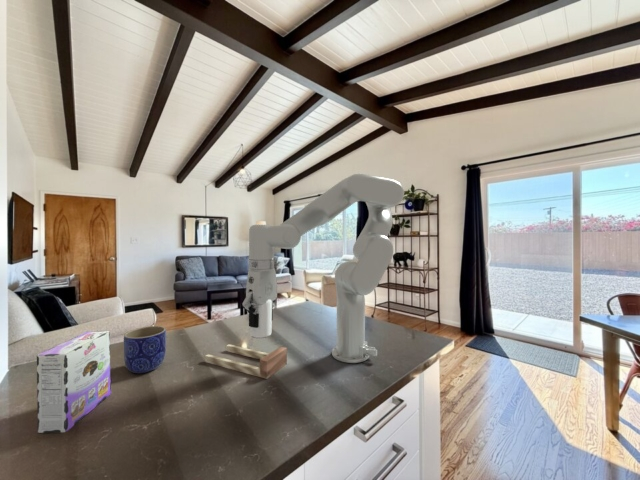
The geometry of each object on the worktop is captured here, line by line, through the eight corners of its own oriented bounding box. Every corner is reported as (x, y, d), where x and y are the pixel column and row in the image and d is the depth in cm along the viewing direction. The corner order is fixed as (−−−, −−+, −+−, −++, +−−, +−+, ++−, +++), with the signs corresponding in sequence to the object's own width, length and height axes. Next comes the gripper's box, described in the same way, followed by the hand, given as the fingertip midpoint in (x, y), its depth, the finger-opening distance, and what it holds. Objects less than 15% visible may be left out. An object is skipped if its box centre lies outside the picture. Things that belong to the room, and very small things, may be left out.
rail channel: (286, 363, 88) (286, 347, 88) (266, 378, 79) (266, 361, 78) (228, 349, 98) (228, 335, 98) (205, 361, 89) (205, 346, 89)
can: (269, 339, 82) (269, 298, 82) (247, 338, 82) (247, 298, 82) (273, 331, 89) (273, 293, 88) (253, 331, 89) (253, 293, 89)
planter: (174, 362, 89) (174, 327, 88) (144, 379, 78) (143, 340, 78) (147, 358, 92) (146, 324, 91) (114, 374, 81) (114, 336, 81)
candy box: (87, 395, 70) (86, 330, 70) (112, 394, 71) (111, 330, 71) (35, 434, 57) (34, 354, 56) (66, 432, 57) (65, 353, 57)
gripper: (253, 268, 76) (252, 334, 76) (287, 263, 91) (286, 317, 92) (231, 267, 79) (231, 330, 79) (268, 262, 95) (268, 314, 95)
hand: (261, 323), depth 85 cm, fingers closed on can, 6 cm apart
